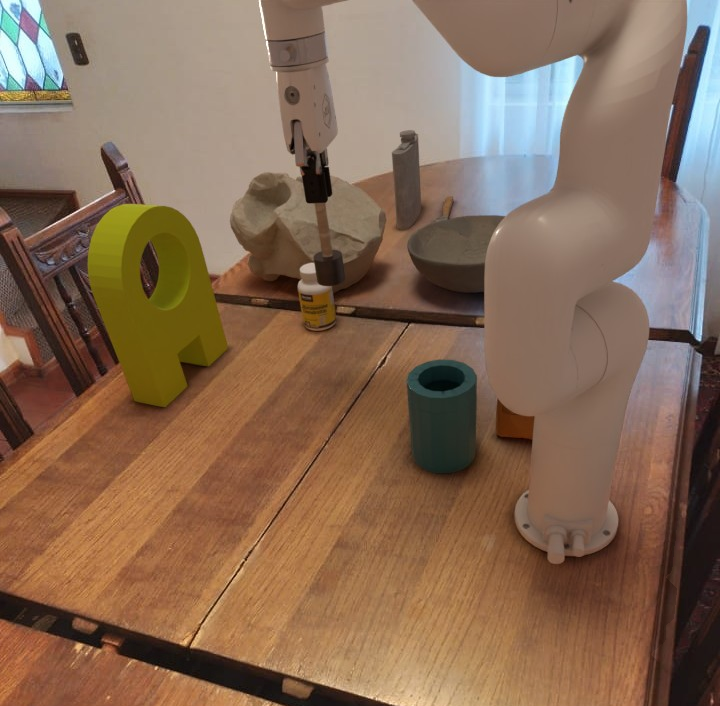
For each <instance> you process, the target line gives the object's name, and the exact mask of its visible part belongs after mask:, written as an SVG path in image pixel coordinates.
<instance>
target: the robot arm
mask: <svg viewBox="0 0 720 706" xmlns="http://www.w3.org/2000/svg"><path fill="white" fill-rule="evenodd" d="M347 1H348V0H258V2H259V4H258V5H259V9H260V10H259V11H260V14H261V21H262V26H263V32H264V38H265V44H266V50H267V55H268V61H269V62H268V63H269V68H270V71H272V72H275V73H276V74H275V75H276V85H277V96H278V104H279V112H280V119H281V120H280V121H281V127H282V133H283V138H284V143H285V146H286V150H287V152H288V153H289V154H290V155H292V156H293V155H294V161H295V162H294V163H295V166H296V167H299V172H300V176H301V177H302V180H303V187H304V193H305V199H306V202H307V203H326V202H327V201H328V197H330V196H331V195H332V186H331V179H330V176H331V172H330V166H329V153H328V147H329V146H330V145H331V144H332V142H333V141H334V140H335V138H336V137H337V136H338V131H339V130H338V129H339V128H338V123H337V114H336V109H335V103H334V98H333V91H332V90H333V89H332V86H331V81H330V76H329V71H328V66H327V64H328V63H329V52H328V45H327V35H326V31H325V30H326V29H325V21H324V13H323V7H325V6H331V5H333V4H338V3H343V2H347ZM411 1H412V2H413V4H414V5H415V6H416V7H417V8H418V9H419V11H420V12H421V13H422V14H423V16H425V17H426V19H427V20H428V21H429V22H430V24H431V25H432V26H433V28H435V30H436V31H437V32H438V33H439V34H440V36H441V37H442V38H443V39H444V40H445V42H446V43H447V44H448V45H449V46H450V47H451V49H452V50H453V51H454V52H455V54H456V55H457V56H458V57H460V59H461V60H462V61H463V62H464V63H466V64H467V65H468V66H469V67H470V68H472V69H473V70H474V71H476V72H478V73H480V74H483V75H485V76H487V77H492V78H509V77H514V76H518V75H522V74H524V73H525V74H526V73H528V72H531V71H533V70H537V69H540V68H543V67H546V66H549V65H553V64H556V63H559V62H561V61H564V60H567V59H570V58H573V57H576V56H578V57H580V58H581V59H582V61H583V63H582V68H581V72H580V73H579V76H578V77H577V80H576V82H575V85H574V87H573V89H572V91H571V93H570V96H569V99H568V101H567V104H566V107H565V109H564V113H563V117H562V121H561V126H560V133H559V152H558V153H559V154H558V163H557V169H556V176H555V180H554V184H553V186H552V187H551V189H550V190H549V191H548V192H547V193H545V194H542V195H540V196H538V197H536V198H533V199H531V200H529V201H527V202H524V203H522V204H520V205H519V206H517V207H516V208H514V209H513V210H511V211H510V212H509V213H507V214H506V215H504V216H505V217H504V218H503V219H502V221H501V222H500V223H499V224H498V226H497V228H496V229H495V231H494V233H493V235H492V237H491V240H490V243H489V246H488V249H487V253H486V259H485V276H484V292H483V293H484V297H483V299H484V301H483V305H484V307H483V308H484V309H483V310H484V311H483V313H484V314H483V316H484V317H483V319H484V320H483V321H484V322H483V326H484V327H483V332H484V333H483V336H484V337H483V347H484V349H483V350H484V351H483V353H484V364H485V370H486V376H487V379H488V382H489V385H490V387H491V389H492V391H493V394H494V395H495V397H496V398H498V399H499V401H500V402H501V403H502V404H503V405H504V406H505V407H506V408H507V409H509V410H510V411H512V412H514V413H516V414H519V415H523V416H535V418H534V428H533V440H532V442H531V443H532V444H531V454H530V455H531V456H530V470H529V481H528V489H527V490H526V491H525V492H523V493H522V494H521V495H520V496H519V498H518V499H517V502H516V504H515V505H514V506H515V507H514V516H513V517H514V523H515V526H516V529H517V531H518V532H519V534H520V535H521V536H522V538H524V539H525V540H526V541H527V543H529V544H531V545H532V546H534V547H535V548H537V549H539V550H541V551H544V552H547V561H548V562H549V563H550V564H553V565H559V564H562V563H564V561H565V560H566V559H565V557H577V558H581V557H583V556H586V555H591V554H593V553H597V552H598V551H602V549H604V548H605V547H607V546H609V544H610V543H611V542H612V541H614V539H615V537H616V534H617V531H618V527H619V515H618V511H617V509H616V507H615V505H614V504H613V502H612V501H611V500H610V497H611V492H612V487H613V481H614V475H615V470H616V464H617V459H618V453H619V448H620V443H621V437H622V431H623V428H624V423H625V417H626V414H627V413H626V412H627V407H628V403H629V400H630V395H631V393H632V389H633V386H634V384H635V380H636V378H637V376H638V373H639V371H640V368H641V366H642V363H643V360H644V357H645V354H646V351H647V347H648V343H649V339H650V319H649V318H650V317H649V313H648V311H647V308H646V305H645V304H644V301H643V300H642V298H641V297H640V296H639V295H638V293H637V292H635V291H634V290H633V289H632V288H631V287H629V286H627V285H625V284H623V283H620V282H618V281H617V282H616V281H615V280H617V279H619V278H621V277H622V276H624V275H626V274H627V273H629V272H630V271H631V270H633V269H634V268H635V267H636V266H637V265H639V264H640V262H642V259H643V258H644V256H645V255H646V253H647V250H648V248H649V245H650V242H651V236H652V234H653V233H652V232H653V226H654V222H655V221H654V220H655V216H656V215H655V214H656V208H657V201H658V195H659V189H660V182H661V178H662V177H661V176H662V171H663V164H664V159H665V153H666V152H665V151H666V144H667V135H668V128H669V122H670V115H671V111H672V106H673V101H674V96H675V92H676V87H677V84H678V80H679V74H680V70H681V66H682V61H683V56H684V50H685V44H686V38H687V31H688V30H687V29H688V1H687V0H411ZM312 157H314V160H313V158H312Z"/></svg>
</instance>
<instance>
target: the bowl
mask: <svg viewBox="0 0 720 706" xmlns="http://www.w3.org/2000/svg"><path fill="white" fill-rule="evenodd" d="M505 216H506V215H498V214H497V215H496V214H495V215H493V214H491V215H488V214H487V215H485V214H484V215H462V216H457V217H453V218H452V217H451V218H448V219H447V220H442V221H438V222H436V221H434V222H430V223H428V224H426V225H424V226H422V227H421V228H419V229H417V230H416V231H415V232H413V233H412V234H411V236H410V237H409V238H408V241H407V243H406V246H407V247H406V248H407V252H408V254H409V257H410V260H411V262H412V264H413V266H414V267H415V268H416V270H417V271H418V272H419V273H420V274H421V275H422V276H423V277H424V279H426V280H428V281H429V282H431V283H432V284H434V285H436V286H437V287H440V288H444V289H446V290H448V291H449V290H450V291H453V292H457V293H469V294H471V293H477V294H478V293H484V276H485V259H486V253H487V249H488V246H489V243H490V240H491V237H492V235H493V233H494V231H495V229H496V228H497V226H498V224H499V223H500V222H501V221H502V219H503V218H504V217H505Z"/></svg>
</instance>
